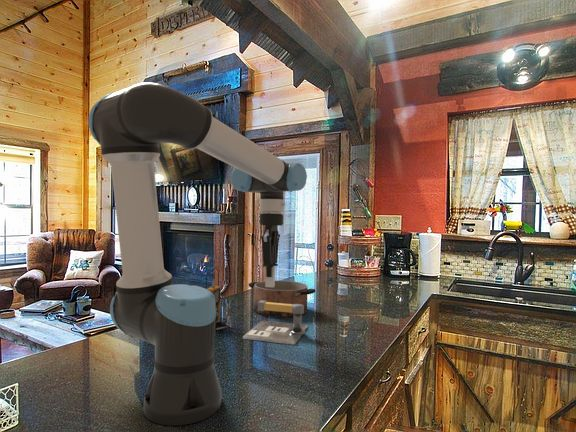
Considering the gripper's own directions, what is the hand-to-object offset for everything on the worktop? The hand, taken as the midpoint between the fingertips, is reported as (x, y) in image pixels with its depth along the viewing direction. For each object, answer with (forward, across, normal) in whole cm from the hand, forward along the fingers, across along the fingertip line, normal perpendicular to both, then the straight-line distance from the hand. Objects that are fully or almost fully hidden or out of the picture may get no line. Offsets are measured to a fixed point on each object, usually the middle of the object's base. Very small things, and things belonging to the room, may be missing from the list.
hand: (269, 286), depth 115 cm
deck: (+17, +7, -1) cm, 18 cm away
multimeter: (+17, +9, +20) cm, 28 cm away
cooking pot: (+17, +36, +6) cm, 40 cm away
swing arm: (+9, +7, -2) cm, 12 cm away
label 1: (+17, +1, +3) cm, 17 cm away
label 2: (+17, +7, -1) cm, 18 cm away
